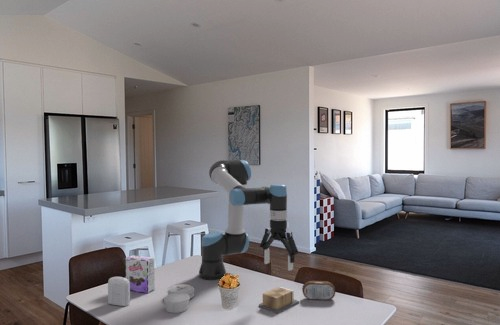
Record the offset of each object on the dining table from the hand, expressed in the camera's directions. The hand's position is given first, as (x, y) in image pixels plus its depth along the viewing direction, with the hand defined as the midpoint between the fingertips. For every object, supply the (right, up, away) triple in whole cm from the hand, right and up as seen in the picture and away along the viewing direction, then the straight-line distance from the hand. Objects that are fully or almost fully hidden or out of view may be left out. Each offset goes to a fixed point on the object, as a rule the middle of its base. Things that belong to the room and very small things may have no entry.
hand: (278, 266), depth 165 cm
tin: (+19, -17, +6) cm, 26 cm away
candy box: (-68, -18, +20) cm, 73 cm away
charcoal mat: (0, -17, 0) cm, 17 cm away
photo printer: (-72, -18, +3) cm, 74 cm away
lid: (-46, -18, +10) cm, 50 cm away
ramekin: (-45, -18, -3) cm, 48 cm away
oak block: (-4, -14, -5) cm, 15 cm away
